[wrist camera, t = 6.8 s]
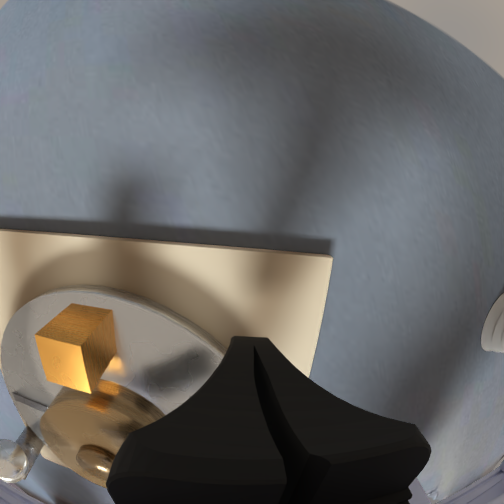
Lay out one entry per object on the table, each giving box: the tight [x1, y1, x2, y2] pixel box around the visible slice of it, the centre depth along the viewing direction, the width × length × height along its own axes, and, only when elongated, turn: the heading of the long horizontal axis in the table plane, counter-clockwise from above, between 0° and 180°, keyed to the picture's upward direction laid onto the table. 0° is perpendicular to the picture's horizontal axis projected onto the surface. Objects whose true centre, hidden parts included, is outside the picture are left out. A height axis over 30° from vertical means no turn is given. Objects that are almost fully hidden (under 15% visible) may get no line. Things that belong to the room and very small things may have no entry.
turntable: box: [1, 284, 227, 447], centre depth 11 cm, size 16×16×4 cm
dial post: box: [0, 425, 45, 483], centre depth 11 cm, size 4×3×7 cm
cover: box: [40, 379, 165, 488], centre depth 10 cm, size 7×7×3 cm
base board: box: [0, 229, 333, 468], centre depth 14 cm, size 20×20×1 cm
